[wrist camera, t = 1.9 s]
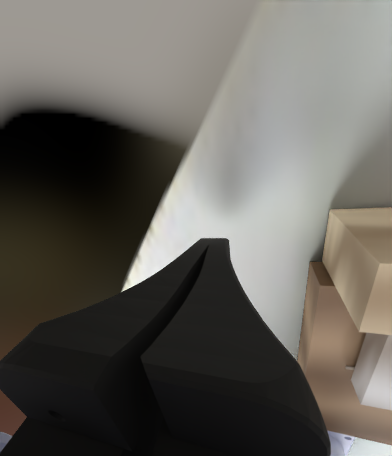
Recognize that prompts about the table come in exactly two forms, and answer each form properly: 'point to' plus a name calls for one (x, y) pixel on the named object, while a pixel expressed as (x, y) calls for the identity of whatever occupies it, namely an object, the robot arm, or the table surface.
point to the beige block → (365, 292)
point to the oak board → (336, 361)
